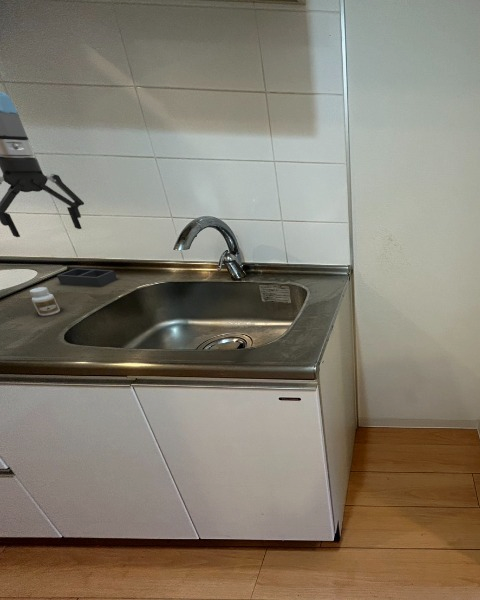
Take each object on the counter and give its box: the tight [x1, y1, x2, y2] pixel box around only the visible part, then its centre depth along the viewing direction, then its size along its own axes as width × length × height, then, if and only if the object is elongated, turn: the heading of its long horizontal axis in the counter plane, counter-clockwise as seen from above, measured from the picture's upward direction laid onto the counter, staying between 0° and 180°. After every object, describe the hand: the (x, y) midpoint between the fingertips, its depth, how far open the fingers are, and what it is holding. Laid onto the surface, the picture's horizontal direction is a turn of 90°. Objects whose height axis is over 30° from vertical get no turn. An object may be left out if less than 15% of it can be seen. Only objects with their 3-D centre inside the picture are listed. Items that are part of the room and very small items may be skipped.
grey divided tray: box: [56, 267, 118, 288], centre depth 112 cm, size 7×14×4 cm, turn 90°
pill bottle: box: [29, 286, 61, 317], centre depth 91 cm, size 4×4×8 cm
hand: (49, 232), depth 95 cm, fingers open, 13 cm apart
